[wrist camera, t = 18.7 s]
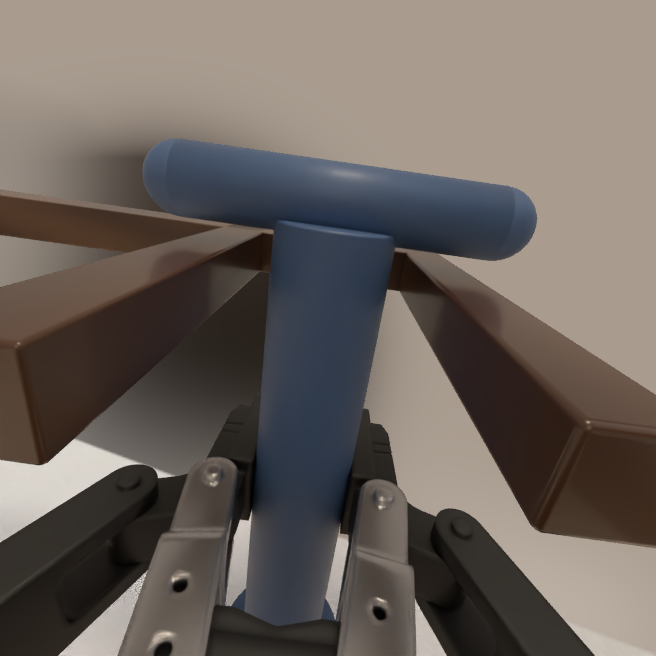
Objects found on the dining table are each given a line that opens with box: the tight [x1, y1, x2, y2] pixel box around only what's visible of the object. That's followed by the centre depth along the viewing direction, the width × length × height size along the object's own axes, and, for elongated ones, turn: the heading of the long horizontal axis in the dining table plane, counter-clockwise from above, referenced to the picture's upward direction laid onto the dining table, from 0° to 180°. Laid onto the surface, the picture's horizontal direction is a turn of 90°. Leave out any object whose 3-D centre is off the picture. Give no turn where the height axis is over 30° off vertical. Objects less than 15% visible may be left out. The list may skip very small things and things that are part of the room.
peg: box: [143, 139, 537, 626], centre depth 11 cm, size 4×9×17 cm, turn 87°
